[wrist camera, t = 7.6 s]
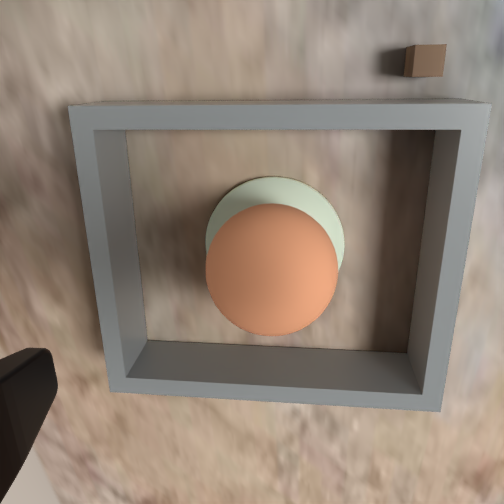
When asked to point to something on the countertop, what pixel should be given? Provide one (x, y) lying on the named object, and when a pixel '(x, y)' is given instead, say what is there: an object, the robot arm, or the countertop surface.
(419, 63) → the cradle
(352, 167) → the countertop surface
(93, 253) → the grey shallow tray
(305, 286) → the ball
